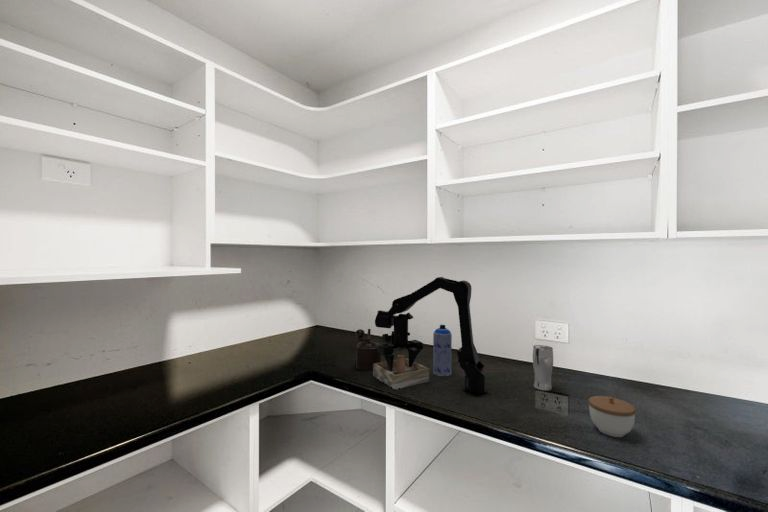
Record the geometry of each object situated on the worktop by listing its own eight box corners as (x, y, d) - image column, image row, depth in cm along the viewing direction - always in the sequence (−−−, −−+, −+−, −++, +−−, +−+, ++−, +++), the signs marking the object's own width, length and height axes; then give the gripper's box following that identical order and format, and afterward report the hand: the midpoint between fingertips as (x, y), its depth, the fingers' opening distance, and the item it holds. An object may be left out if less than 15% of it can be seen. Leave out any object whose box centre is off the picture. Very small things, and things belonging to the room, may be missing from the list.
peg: (406, 379, 131) (406, 356, 131) (399, 380, 130) (399, 357, 130) (401, 376, 134) (401, 354, 134) (395, 378, 132) (395, 355, 132)
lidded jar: (608, 442, 87) (608, 406, 87) (579, 422, 97) (580, 390, 97) (645, 441, 88) (645, 405, 88) (613, 421, 98) (614, 389, 98)
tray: (429, 381, 129) (429, 368, 129) (394, 389, 121) (394, 375, 121) (405, 369, 143) (405, 358, 143) (373, 376, 134) (373, 363, 134)
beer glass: (555, 391, 120) (555, 350, 120) (535, 390, 121) (535, 349, 121) (550, 384, 127) (550, 345, 127) (530, 383, 128) (530, 344, 128)
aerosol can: (455, 373, 139) (455, 325, 139) (444, 377, 133) (444, 327, 134) (440, 368, 145) (440, 322, 145) (428, 372, 139) (429, 324, 139)
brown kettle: (355, 362, 152) (355, 323, 152) (379, 362, 153) (379, 323, 153) (354, 374, 136) (354, 330, 137) (381, 374, 137) (381, 330, 137)
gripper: (408, 323, 144) (408, 360, 144) (370, 328, 134) (370, 367, 134) (424, 328, 134) (424, 367, 134) (384, 333, 124) (384, 375, 124)
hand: (400, 369), depth 132 cm, fingers open, 9 cm apart
